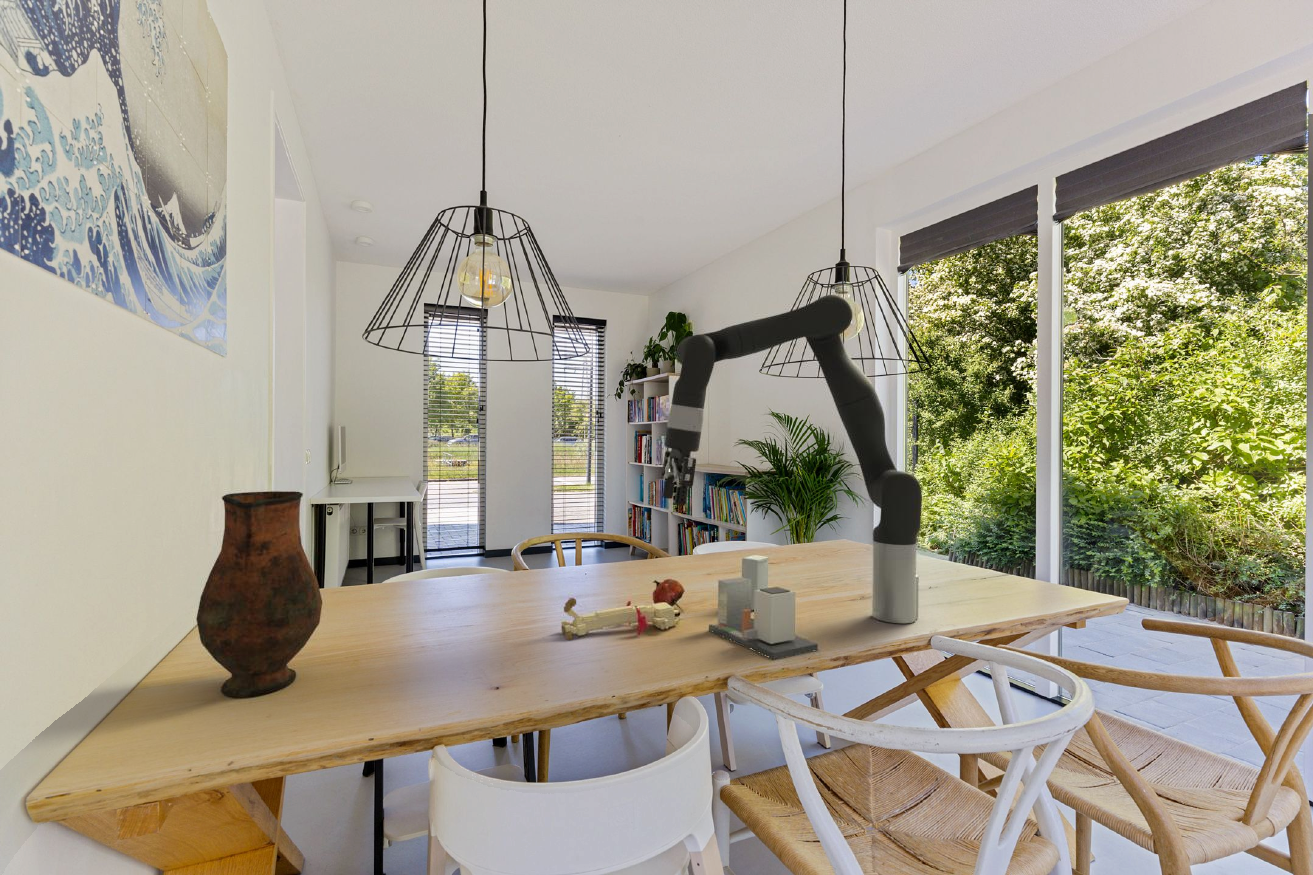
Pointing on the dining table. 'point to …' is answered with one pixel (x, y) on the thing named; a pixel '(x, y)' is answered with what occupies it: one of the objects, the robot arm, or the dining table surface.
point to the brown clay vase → (259, 594)
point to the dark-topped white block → (773, 615)
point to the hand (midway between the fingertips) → (673, 501)
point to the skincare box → (756, 573)
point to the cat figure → (619, 618)
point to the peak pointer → (746, 620)
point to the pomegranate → (668, 592)
